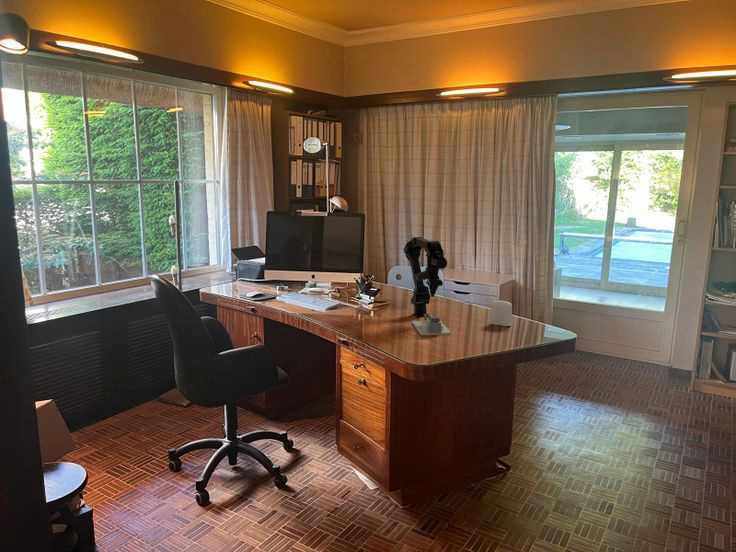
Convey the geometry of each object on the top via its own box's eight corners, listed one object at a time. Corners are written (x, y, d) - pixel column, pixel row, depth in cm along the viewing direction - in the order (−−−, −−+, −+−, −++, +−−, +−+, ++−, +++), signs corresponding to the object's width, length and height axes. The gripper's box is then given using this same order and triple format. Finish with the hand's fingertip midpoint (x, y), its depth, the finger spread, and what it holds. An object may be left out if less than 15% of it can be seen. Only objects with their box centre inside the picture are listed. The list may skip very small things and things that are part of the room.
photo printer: (512, 325, 263) (513, 300, 261) (509, 327, 260) (510, 302, 257) (492, 322, 269) (493, 298, 267) (489, 324, 265) (490, 300, 263)
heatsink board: (412, 323, 270) (412, 310, 268) (439, 322, 271) (439, 309, 270) (421, 335, 248) (421, 322, 247) (450, 334, 249) (450, 321, 248)
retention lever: (425, 313, 262) (431, 318, 248) (433, 313, 262) (439, 318, 249) (425, 317, 262) (431, 322, 248) (433, 317, 262) (439, 322, 249)
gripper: (413, 263, 276) (413, 293, 279) (420, 269, 258) (420, 301, 260) (434, 263, 277) (434, 292, 280) (443, 268, 259) (442, 300, 261)
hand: (432, 296), depth 270 cm, fingers closed
